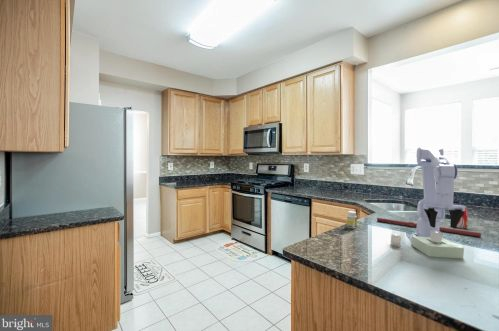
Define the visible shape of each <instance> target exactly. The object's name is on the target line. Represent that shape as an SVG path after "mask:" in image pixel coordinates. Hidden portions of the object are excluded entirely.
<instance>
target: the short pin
mask: <svg viewBox="0 0 499 331" xmlns="http://www.w3.org/2000/svg"><path fill="white" fill-rule="evenodd" d="M401 241H402V235H401V234H398V233H391V234H390V246H392V245H393V247H398V248H399V247H401V246H402V244H401V243H402V242H401Z"/></svg>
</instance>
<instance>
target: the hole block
mask: <svg viewBox="0 0 499 331" xmlns="http://www.w3.org/2000/svg"><path fill="white" fill-rule="evenodd" d="M411 246H412V247H414V248H415V249H417V250H418V251H420V252H421V253H423V254H424V255H425V256H427V257H429V258H430V257H433V258H448V259H450V258H451V259H461V260H462V259H463V260H464V252H465V248H464V247H463V246H460V245H458V244H456V243H454V242H452V241H450V240H448V239H445V238H444V237H442V243H441V244H433V243H431V242H430V237H420V236H418V235H415V236H414V235H412V236H411Z"/></svg>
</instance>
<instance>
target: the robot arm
mask: <svg viewBox="0 0 499 331" xmlns="http://www.w3.org/2000/svg"><path fill="white" fill-rule="evenodd" d="M416 163H417V166H420V168H421V172H422V186H423V188H422V189H423V199H420V200H419V201H418V202H417V208H416V211H417V212H416V213H417V217H418V219H417V221H416V223H417V227H416V231H415V232H414V235H415V236H420V237H430V236H431V231H432V230H434V231H440V227H441V222H442V220H444V219H445V218H446V211H449V212H448V213H449V216H450V217H449V219H450V220H449V221H450V222H449V225H450V226H449V228H454V229H457V228H456V226H457V224H458V222H459V220H460V219H461V217H462V216H463V215H464V212H463V211H465V206H466V205H464V204H463V205H461V204H454V193H455V179H456V178H457V177H458V167H457V165H456V163H454V164H453V163H452V164H451V163H450V162H449V160H447V158H446V157H445V156H444V149H443V147H441V146H435V147H431V146H430V147H429V146H427V147H426V146H425V147H423V146H422V147H421V146H419V147H418V148H417V150H416ZM440 232H441V231H440Z"/></svg>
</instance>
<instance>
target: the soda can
mask: <svg viewBox="0 0 499 331" xmlns="http://www.w3.org/2000/svg"><path fill="white" fill-rule="evenodd" d="M464 206H465V211H463V212H464V215H463V216H462V217H461V219H460V220H459V222H458V224H457V226H456V227H457V228H456V229H467V228H468V224H469V222H468V221H469V209H468V207H467V206H466V205H464Z"/></svg>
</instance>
